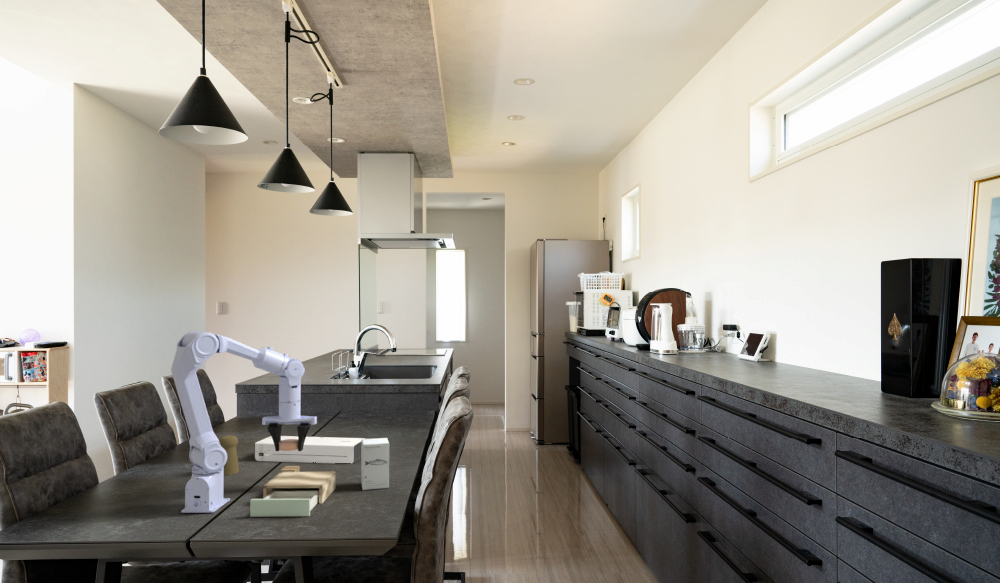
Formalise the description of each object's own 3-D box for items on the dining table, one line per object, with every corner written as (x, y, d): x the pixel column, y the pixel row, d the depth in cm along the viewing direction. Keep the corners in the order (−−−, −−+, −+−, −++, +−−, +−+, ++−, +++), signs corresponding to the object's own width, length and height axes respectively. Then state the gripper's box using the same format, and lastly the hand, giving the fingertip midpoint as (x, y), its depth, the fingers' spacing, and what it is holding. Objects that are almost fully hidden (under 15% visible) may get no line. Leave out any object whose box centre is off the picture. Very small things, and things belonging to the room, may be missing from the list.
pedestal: (294, 484, 169) (294, 469, 170) (280, 484, 169) (280, 469, 169) (299, 479, 173) (299, 466, 173) (285, 480, 173) (285, 466, 173)
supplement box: (362, 490, 163) (362, 444, 163) (360, 483, 170) (361, 438, 171) (389, 488, 165) (389, 442, 165) (387, 481, 172) (387, 436, 172)
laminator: (366, 456, 202) (366, 438, 202) (353, 466, 189) (353, 446, 190) (271, 453, 206) (271, 435, 206) (252, 462, 194) (252, 443, 194)
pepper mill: (230, 476, 178) (231, 438, 178) (212, 474, 179) (213, 437, 179) (243, 470, 183) (243, 434, 184) (225, 469, 185) (226, 433, 185)
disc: (296, 450, 164) (296, 443, 164) (275, 450, 164) (275, 443, 164) (302, 445, 170) (302, 438, 170) (282, 446, 169) (282, 439, 169)
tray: (309, 516, 143) (309, 499, 143) (250, 516, 143) (250, 500, 143) (324, 498, 156) (324, 483, 156) (270, 498, 156) (270, 483, 156)
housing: (322, 503, 153) (322, 485, 153) (263, 503, 153) (263, 485, 153) (335, 488, 166) (335, 471, 166) (281, 488, 165) (281, 471, 165)
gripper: (319, 398, 171) (319, 446, 171) (268, 399, 171) (268, 447, 170) (312, 402, 164) (312, 452, 164) (259, 403, 164) (258, 453, 163)
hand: (289, 450), depth 167 cm, fingers closed on disc, 6 cm apart
